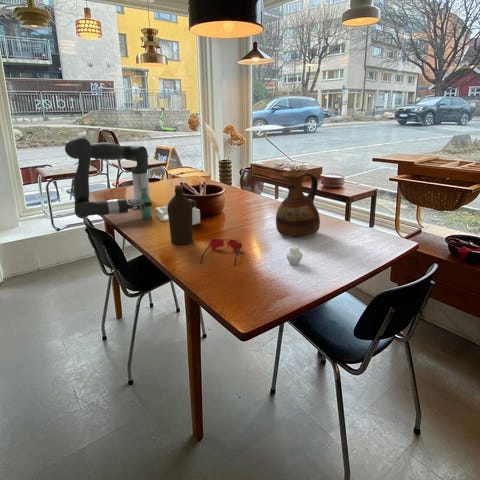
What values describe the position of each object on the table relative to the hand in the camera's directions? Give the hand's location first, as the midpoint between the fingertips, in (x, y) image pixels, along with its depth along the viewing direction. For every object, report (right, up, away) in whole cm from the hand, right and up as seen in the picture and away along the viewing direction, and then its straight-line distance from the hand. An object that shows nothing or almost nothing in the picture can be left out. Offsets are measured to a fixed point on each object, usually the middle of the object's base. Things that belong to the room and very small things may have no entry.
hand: (150, 202), depth 195 cm
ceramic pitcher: (+74, -17, -22) cm, 79 cm away
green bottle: (-2, -8, +2) cm, 8 cm away
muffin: (+68, -29, -53) cm, 91 cm away
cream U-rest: (+9, -7, +3) cm, 12 cm away
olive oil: (+22, -21, -31) cm, 43 cm away
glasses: (+40, -27, -46) cm, 67 cm away
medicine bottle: (+22, -11, -7) cm, 26 cm away
